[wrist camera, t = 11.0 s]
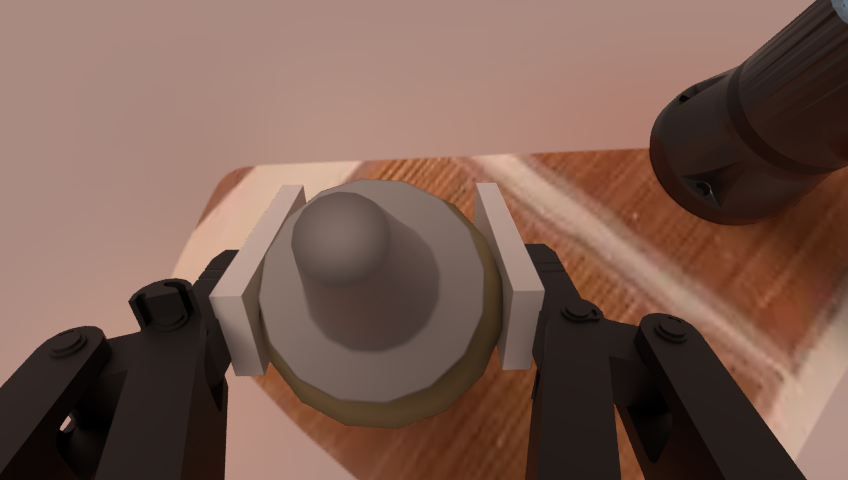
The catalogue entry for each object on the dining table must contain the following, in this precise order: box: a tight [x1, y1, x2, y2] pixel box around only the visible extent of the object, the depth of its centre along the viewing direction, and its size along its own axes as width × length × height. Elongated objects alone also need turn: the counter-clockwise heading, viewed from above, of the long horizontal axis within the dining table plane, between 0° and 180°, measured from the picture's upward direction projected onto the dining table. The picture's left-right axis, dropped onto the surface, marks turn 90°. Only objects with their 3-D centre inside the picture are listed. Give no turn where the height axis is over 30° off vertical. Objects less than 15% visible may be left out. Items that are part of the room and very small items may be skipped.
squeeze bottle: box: [258, 179, 503, 429], centre depth 13 cm, size 8×8×18 cm
